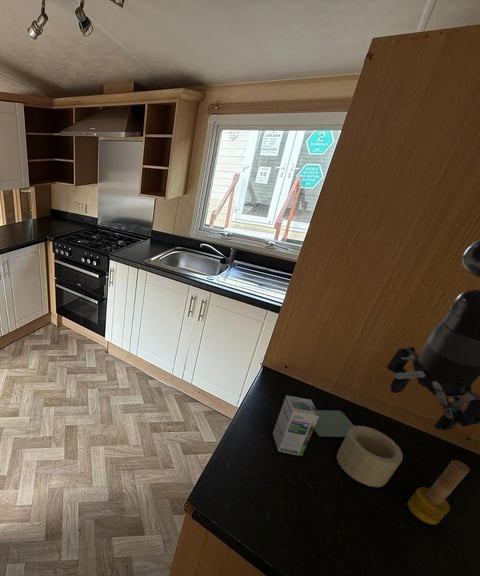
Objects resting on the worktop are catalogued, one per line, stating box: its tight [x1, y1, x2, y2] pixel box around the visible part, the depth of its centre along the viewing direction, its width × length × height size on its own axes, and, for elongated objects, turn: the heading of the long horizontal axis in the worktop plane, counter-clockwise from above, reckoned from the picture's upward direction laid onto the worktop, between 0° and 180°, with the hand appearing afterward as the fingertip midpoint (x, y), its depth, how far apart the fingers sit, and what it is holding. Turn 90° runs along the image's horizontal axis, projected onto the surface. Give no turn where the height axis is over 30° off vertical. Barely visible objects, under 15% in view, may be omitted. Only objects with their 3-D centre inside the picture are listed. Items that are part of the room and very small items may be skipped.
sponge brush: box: [407, 459, 470, 526], centre depth 64 cm, size 5×5×16 cm
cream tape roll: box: [336, 425, 404, 488], centre depth 75 cm, size 10×10×9 cm
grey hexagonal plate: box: [313, 409, 355, 438], centre depth 88 cm, size 12×9×1 cm
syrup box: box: [272, 394, 319, 457], centre depth 79 cm, size 6×6×14 cm
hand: (416, 408), depth 62 cm, fingers open, 8 cm apart
